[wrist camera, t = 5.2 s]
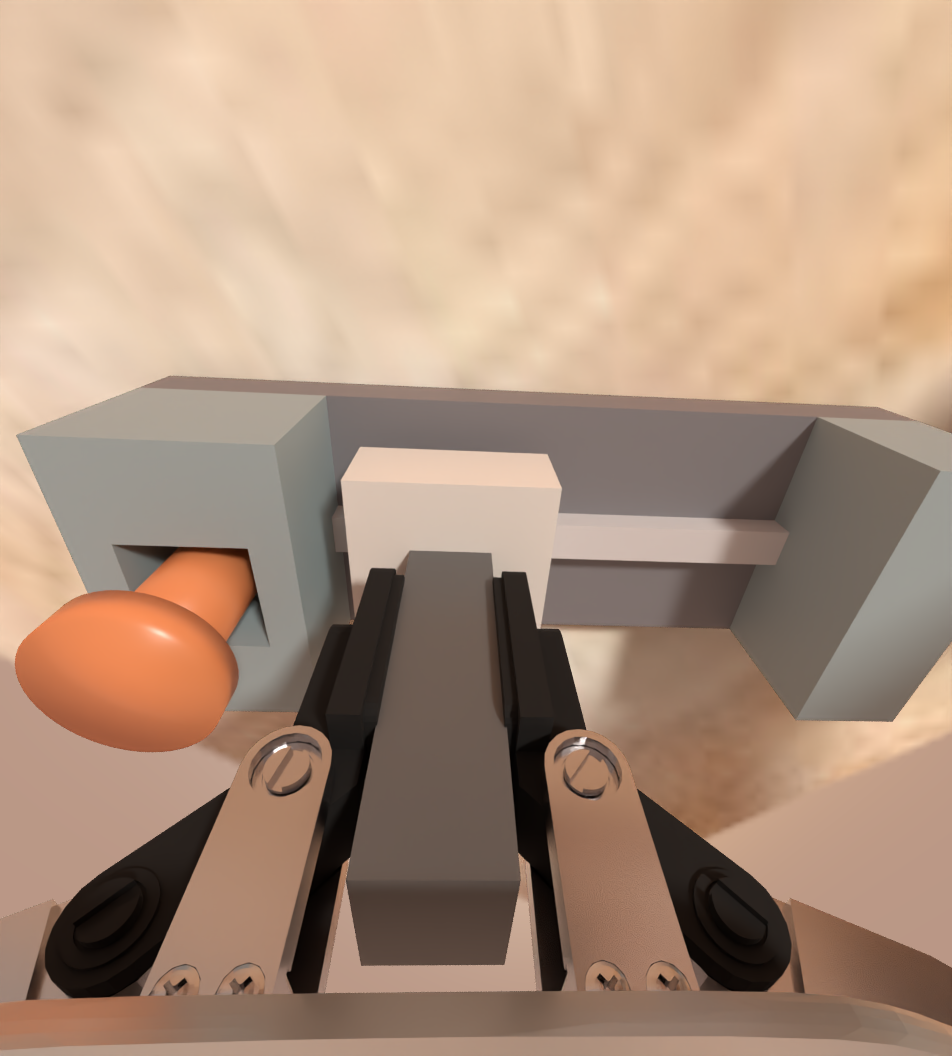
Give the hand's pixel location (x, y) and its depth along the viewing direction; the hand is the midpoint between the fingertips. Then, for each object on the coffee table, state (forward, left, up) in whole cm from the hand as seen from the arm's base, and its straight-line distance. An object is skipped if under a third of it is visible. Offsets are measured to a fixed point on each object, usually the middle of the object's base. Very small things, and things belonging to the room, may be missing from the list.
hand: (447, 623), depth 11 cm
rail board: (-2, 0, -6) cm, 7 cm away
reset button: (+6, 0, -3) cm, 7 cm away
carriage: (0, 0, -3) cm, 3 cm away
